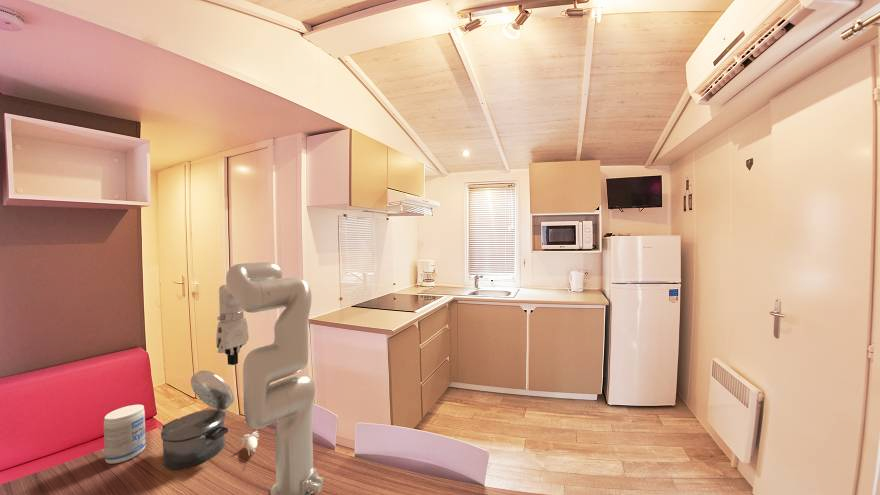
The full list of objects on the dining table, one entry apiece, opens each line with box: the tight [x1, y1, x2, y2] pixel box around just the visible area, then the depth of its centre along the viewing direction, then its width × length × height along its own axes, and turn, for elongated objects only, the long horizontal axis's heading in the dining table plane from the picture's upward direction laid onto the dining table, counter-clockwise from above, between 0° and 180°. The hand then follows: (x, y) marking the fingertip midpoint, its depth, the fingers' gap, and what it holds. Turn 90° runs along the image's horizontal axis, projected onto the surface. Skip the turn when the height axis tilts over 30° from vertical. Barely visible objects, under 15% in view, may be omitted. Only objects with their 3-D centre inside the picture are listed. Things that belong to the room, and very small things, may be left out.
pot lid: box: [190, 370, 235, 410], centre depth 108 cm, size 17×17×3 cm
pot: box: [160, 408, 229, 471], centre depth 102 cm, size 23×18×10 cm
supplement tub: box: [103, 404, 147, 465], centre depth 101 cm, size 10×10×15 cm
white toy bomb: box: [241, 429, 260, 456], centre depth 101 cm, size 12×5×5 cm, turn 37°
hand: (232, 363), depth 116 cm, fingers closed
